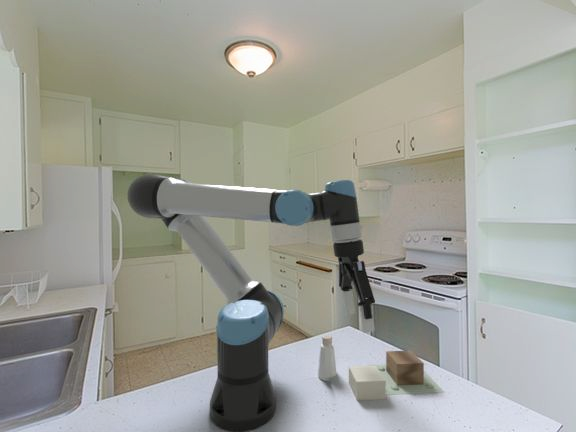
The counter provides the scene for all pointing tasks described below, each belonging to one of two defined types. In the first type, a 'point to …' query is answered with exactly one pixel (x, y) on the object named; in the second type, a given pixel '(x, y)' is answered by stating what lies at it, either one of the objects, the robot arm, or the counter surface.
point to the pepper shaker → (327, 359)
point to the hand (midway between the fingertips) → (358, 322)
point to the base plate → (393, 389)
